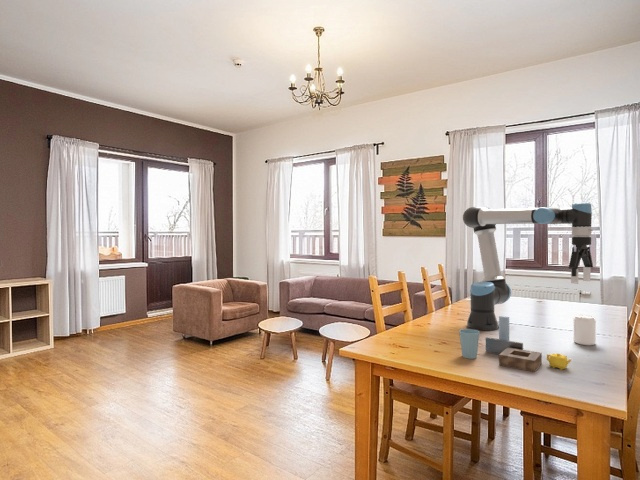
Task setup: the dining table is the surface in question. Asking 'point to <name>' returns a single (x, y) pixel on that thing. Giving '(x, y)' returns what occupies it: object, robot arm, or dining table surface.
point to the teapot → (558, 361)
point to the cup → (469, 343)
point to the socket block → (520, 359)
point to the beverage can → (584, 330)
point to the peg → (504, 328)
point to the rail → (500, 345)
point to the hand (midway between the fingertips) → (580, 282)
